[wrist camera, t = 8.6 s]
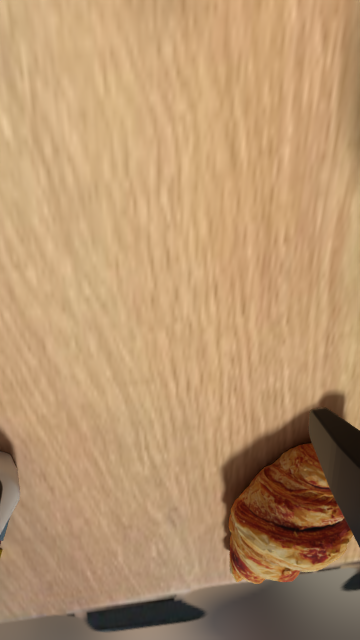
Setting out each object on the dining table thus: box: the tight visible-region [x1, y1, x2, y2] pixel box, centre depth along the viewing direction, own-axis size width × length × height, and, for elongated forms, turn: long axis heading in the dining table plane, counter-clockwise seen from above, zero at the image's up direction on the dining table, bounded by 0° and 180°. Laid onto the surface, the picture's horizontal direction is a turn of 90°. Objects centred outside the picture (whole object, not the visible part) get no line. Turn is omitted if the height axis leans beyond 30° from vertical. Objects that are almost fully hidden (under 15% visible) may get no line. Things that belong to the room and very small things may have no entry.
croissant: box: [228, 443, 353, 584], centre depth 30 cm, size 21×10×8 cm, turn 161°
